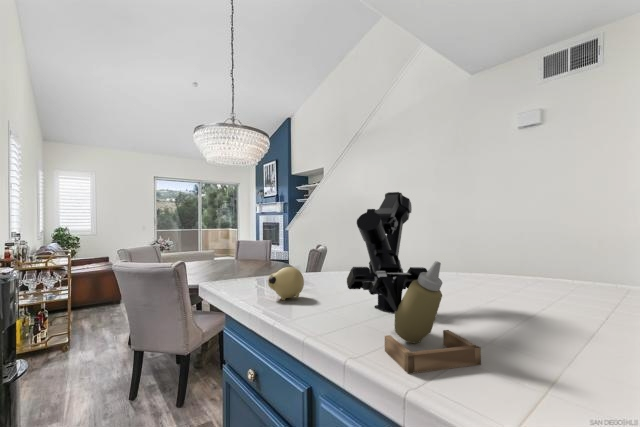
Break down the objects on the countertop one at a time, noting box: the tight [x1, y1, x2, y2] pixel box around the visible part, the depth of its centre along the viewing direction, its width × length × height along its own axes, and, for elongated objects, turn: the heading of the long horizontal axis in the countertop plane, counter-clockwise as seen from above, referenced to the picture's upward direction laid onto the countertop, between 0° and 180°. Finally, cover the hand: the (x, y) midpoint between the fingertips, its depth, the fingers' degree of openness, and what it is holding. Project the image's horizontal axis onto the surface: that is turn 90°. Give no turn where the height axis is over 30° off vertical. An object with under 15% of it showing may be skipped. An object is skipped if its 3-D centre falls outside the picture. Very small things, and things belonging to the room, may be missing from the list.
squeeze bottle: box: [394, 260, 443, 344], centre depth 63 cm, size 8×8×18 cm
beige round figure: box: [267, 266, 305, 301], centre depth 101 cm, size 10×12×11 cm
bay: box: [384, 329, 482, 374], centre depth 57 cm, size 9×14×3 cm, turn 103°
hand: (398, 311), depth 65 cm, fingers closed, pressing on squeeze bottle
